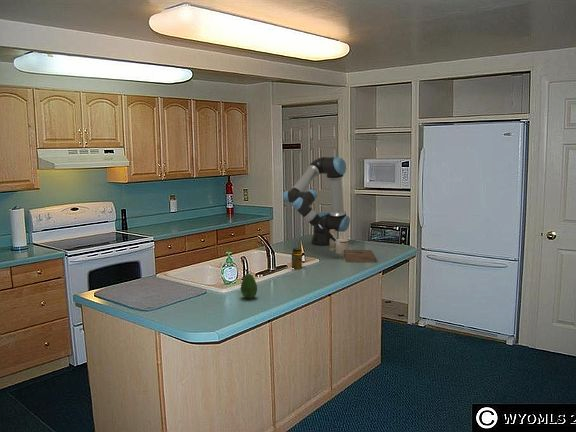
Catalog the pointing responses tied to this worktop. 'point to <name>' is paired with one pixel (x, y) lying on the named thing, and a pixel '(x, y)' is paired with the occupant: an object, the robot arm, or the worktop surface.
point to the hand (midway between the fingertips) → (338, 243)
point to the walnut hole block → (359, 256)
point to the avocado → (248, 286)
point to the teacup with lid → (342, 245)
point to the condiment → (297, 259)
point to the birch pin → (332, 244)
